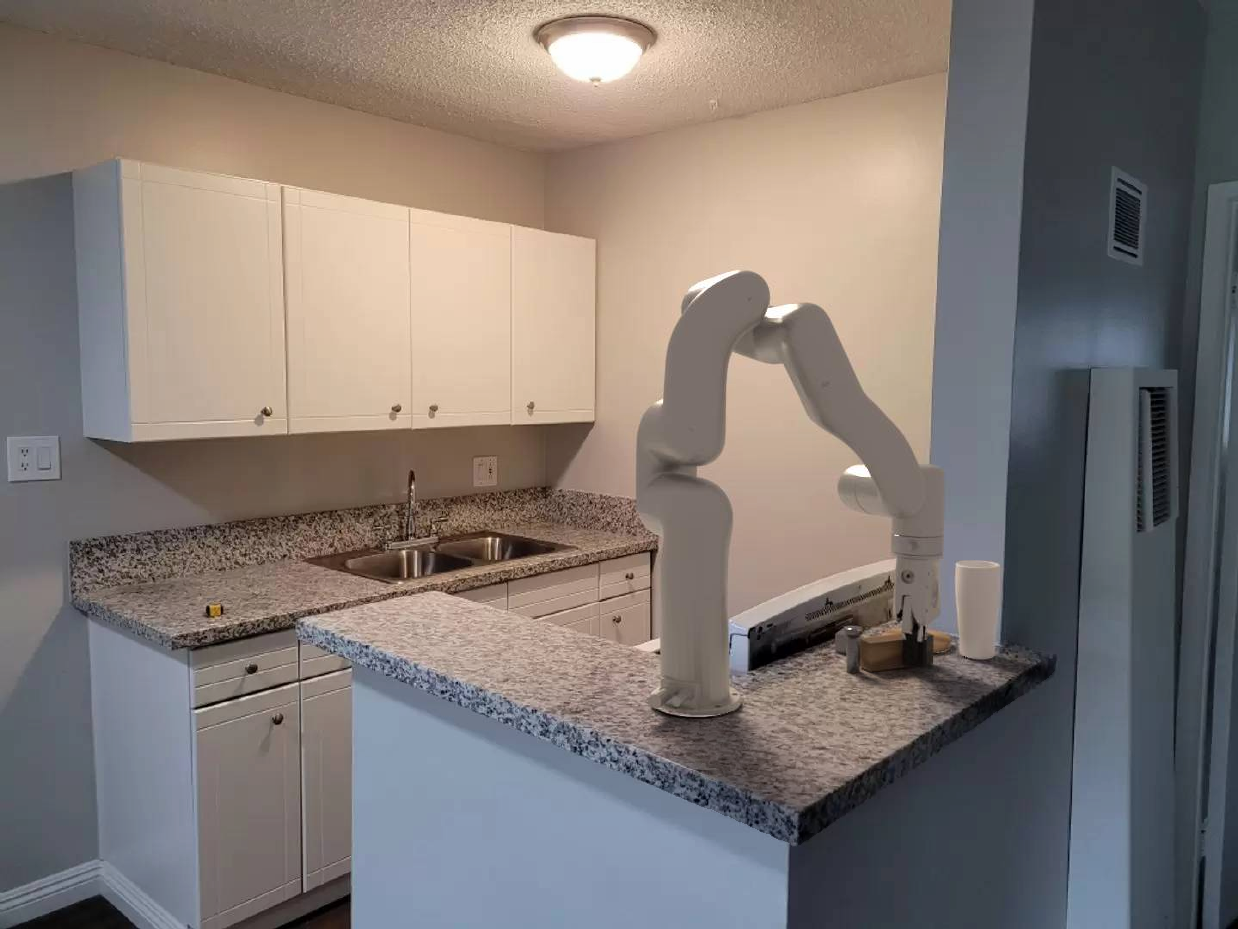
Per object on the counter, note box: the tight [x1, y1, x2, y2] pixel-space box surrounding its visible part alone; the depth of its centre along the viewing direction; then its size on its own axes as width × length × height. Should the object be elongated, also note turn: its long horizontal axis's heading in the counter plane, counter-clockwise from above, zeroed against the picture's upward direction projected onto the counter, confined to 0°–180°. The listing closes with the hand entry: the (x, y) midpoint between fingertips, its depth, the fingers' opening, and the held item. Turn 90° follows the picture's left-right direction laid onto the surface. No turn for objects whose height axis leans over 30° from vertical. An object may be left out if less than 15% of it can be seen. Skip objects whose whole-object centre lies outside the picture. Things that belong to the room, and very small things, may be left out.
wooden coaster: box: [881, 627, 952, 653], centre depth 151 cm, size 11×11×2 cm
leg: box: [860, 633, 934, 673], centre depth 139 cm, size 3×11×5 cm, turn 107°
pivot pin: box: [843, 625, 864, 674], centre depth 137 cm, size 3×3×7 cm
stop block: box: [834, 628, 846, 654], centre depth 149 cm, size 4×2×3 cm, turn 149°
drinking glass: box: [954, 559, 1002, 661], centre depth 143 cm, size 7×7×15 cm
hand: (914, 665), depth 136 cm, fingers closed
